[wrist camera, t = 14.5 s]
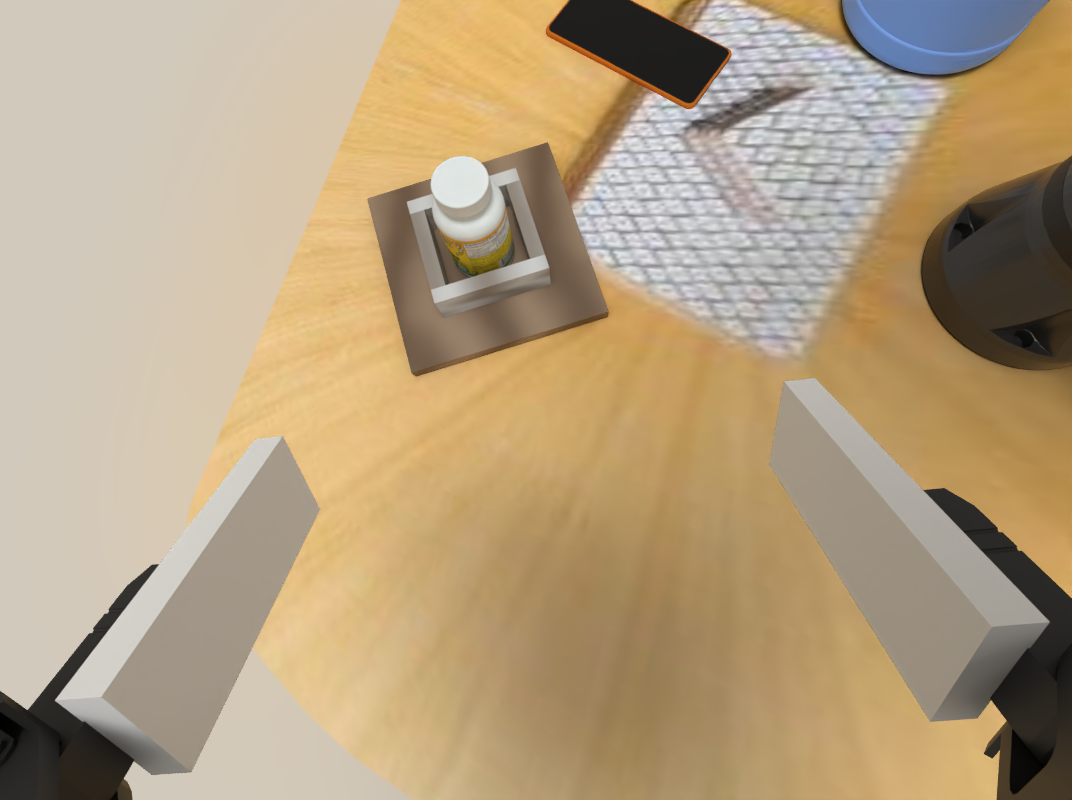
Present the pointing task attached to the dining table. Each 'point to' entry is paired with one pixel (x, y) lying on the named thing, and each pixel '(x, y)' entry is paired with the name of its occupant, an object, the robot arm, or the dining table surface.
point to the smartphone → (641, 46)
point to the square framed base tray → (494, 297)
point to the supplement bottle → (471, 216)
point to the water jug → (938, 30)
